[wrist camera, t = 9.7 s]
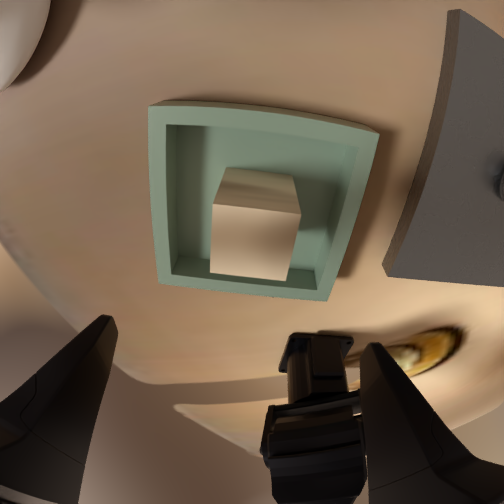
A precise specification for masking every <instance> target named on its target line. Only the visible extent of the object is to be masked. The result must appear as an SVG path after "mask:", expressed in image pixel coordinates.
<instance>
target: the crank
mask: <svg viewBox="0 0 504 504" xmlns="http://www.w3.org/2000/svg"><path fill="white" fill-rule="evenodd" d="M500 196H501V199H502V201H503V202H504V174H503V176H502V179H501V183H500Z"/></svg>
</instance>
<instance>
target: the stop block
mask: <svg viewBox="0 0 504 504" xmlns="http://www.w3.org/2000/svg"><path fill="white" fill-rule="evenodd" d="M300 218H301V211H300V206H299V202H298V198H297V193H296V189H295V185H294V181H293V177H292V175H285V174H278V173H271V172H263V171H255V170H246V169H237V168H228V167H226V169H225V171H224V174H223V177H222V180H221V182H220V185H219V188H218V191H217V193H216V196H215V199H214V202H213V208H212V229H211V254H210V273H218V274H226V275H235V276H243V277H252V278H261V279H270V280H280V281H286V277H287V273H288V269H289V265H290V261H291V257H292V253H293V249H294V244H295V240H296V236H297V231H298V227H299V223H300Z"/></svg>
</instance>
